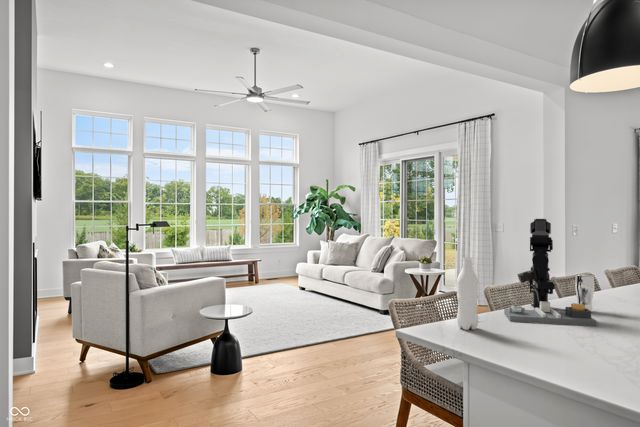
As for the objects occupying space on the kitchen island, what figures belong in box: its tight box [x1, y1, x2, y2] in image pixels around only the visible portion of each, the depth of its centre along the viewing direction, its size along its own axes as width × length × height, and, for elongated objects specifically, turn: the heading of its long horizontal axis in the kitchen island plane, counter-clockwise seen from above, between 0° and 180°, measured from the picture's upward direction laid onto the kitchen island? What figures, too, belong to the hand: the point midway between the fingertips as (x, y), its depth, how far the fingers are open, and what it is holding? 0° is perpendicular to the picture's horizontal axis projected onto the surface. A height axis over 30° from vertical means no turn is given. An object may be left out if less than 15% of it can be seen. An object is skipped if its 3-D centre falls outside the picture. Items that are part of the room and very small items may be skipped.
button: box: [570, 302, 585, 311], centre depth 164 cm, size 4×4×2 cm
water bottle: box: [456, 256, 479, 331], centre depth 154 cm, size 7×7×25 cm
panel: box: [503, 306, 597, 327], centre depth 167 cm, size 13×29×4 cm, turn 76°
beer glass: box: [574, 273, 596, 313], centre depth 182 cm, size 7×7×15 cm
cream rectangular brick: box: [539, 301, 551, 312], centre depth 171 cm, size 2×3×4 cm
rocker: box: [510, 305, 523, 309], centre depth 170 cm, size 5×3×1 cm, turn 166°
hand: (540, 303), depth 178 cm, fingers closed
